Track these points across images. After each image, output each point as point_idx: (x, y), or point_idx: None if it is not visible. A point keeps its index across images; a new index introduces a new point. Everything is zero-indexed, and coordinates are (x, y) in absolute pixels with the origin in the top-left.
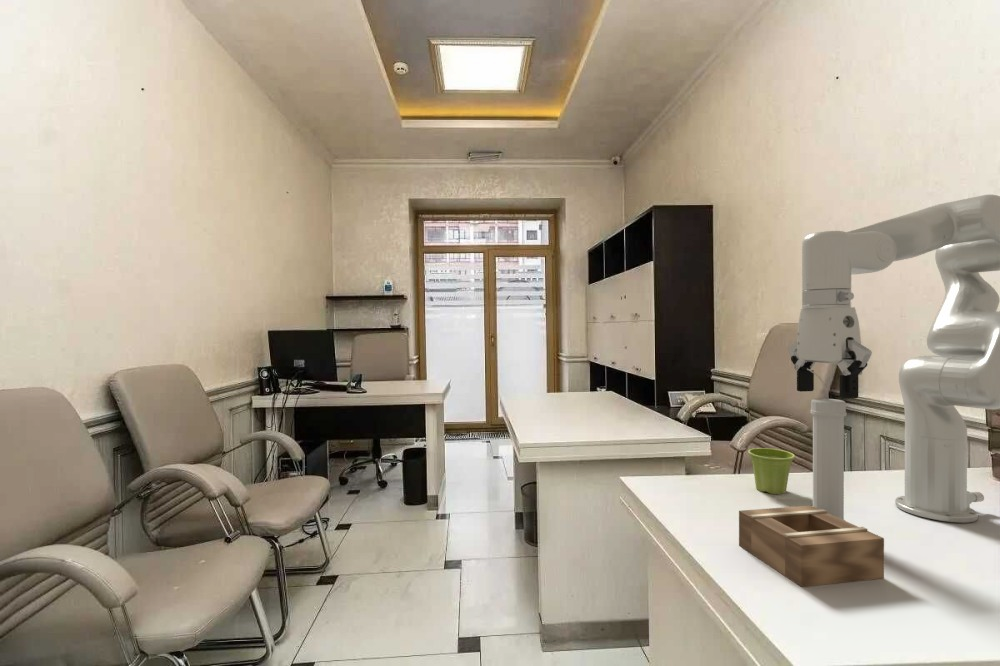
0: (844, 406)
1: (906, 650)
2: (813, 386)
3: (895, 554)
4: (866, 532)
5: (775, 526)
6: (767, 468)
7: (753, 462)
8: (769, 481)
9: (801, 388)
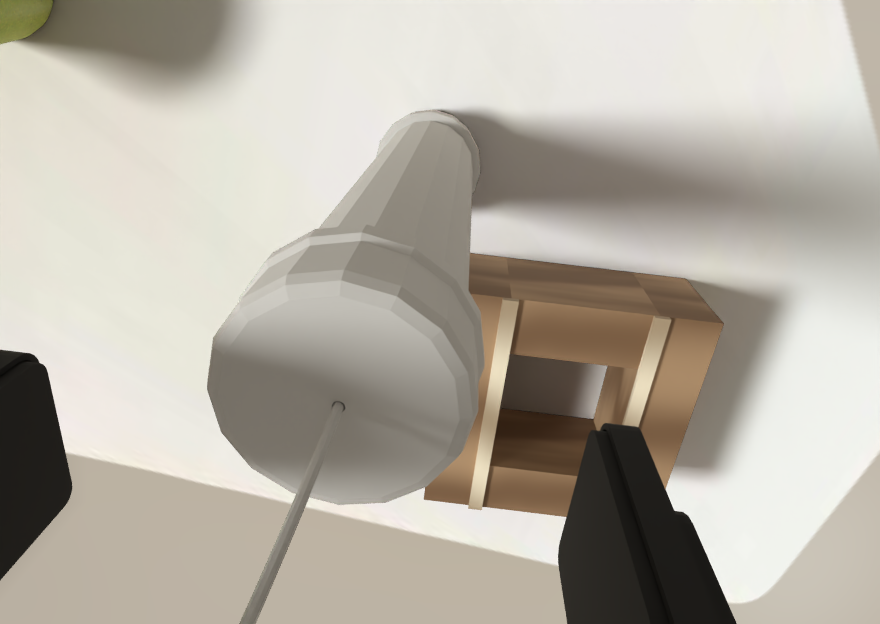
0: (474, 352)
1: (842, 473)
2: (7, 385)
3: (615, 105)
4: (675, 330)
5: (543, 497)
6: None
7: None
8: (14, 29)
9: (56, 504)
